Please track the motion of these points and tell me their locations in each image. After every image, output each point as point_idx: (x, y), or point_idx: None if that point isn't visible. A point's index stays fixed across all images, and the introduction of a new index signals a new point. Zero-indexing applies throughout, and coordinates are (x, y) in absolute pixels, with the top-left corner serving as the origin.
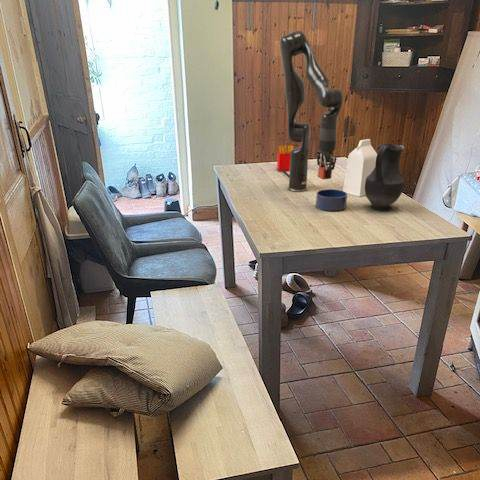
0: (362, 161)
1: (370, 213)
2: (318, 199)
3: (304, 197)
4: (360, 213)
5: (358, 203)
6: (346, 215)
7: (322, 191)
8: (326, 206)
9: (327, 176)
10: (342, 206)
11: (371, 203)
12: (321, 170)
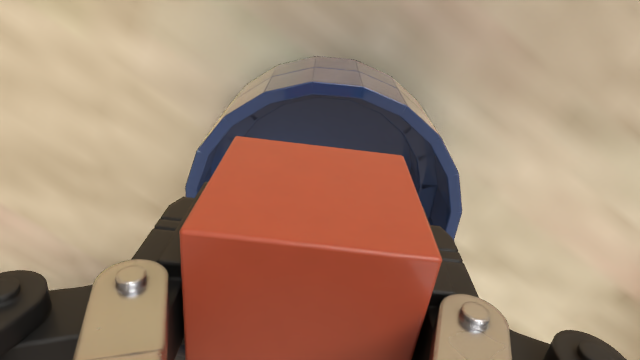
0: None
1: None
2: (339, 73)
3: (625, 137)
4: (128, 239)
5: None
6: (118, 145)
7: (447, 203)
8: (249, 86)
9: (166, 209)
10: None
11: (179, 352)
12: (284, 215)
